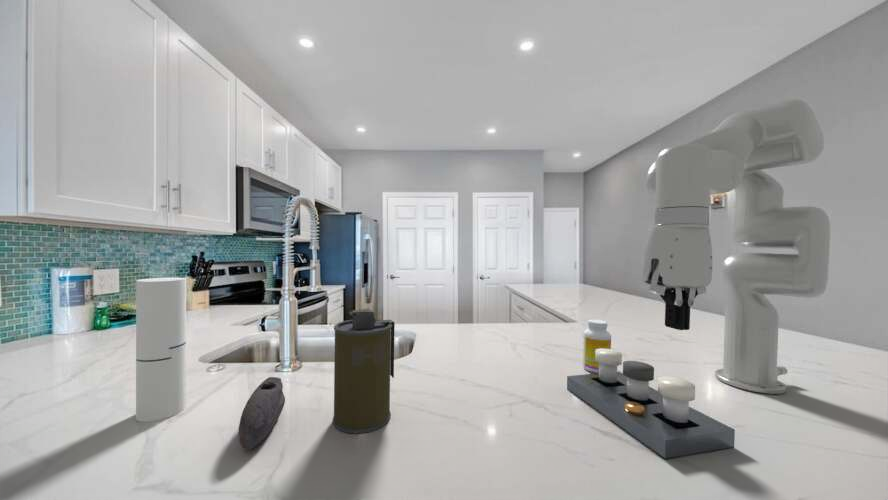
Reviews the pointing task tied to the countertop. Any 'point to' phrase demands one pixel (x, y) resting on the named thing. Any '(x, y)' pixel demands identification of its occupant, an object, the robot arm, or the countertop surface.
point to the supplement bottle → (594, 343)
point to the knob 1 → (608, 364)
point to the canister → (363, 372)
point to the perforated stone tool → (261, 412)
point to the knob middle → (638, 378)
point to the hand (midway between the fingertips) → (676, 327)
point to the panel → (652, 418)
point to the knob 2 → (676, 397)
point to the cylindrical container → (160, 348)
